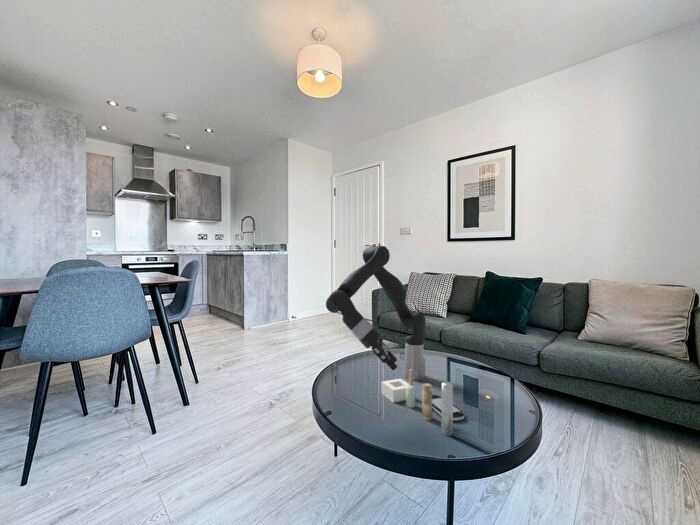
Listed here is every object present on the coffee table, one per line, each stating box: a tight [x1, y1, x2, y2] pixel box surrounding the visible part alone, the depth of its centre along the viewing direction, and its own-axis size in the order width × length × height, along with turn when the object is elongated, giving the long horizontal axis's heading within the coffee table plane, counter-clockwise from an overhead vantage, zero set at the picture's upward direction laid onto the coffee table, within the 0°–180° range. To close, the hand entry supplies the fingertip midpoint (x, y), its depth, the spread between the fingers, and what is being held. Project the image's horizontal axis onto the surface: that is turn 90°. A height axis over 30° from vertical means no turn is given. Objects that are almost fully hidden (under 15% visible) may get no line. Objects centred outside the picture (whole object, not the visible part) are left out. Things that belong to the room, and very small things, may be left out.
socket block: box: [380, 369, 414, 403], centre depth 126 cm, size 10×10×12 cm
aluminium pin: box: [440, 380, 454, 437], centre depth 98 cm, size 4×4×16 cm
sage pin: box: [405, 385, 416, 409], centre depth 117 cm, size 4×4×8 cm
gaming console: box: [432, 394, 466, 423], centre depth 114 cm, size 19×9×3 cm, turn 16°
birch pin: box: [421, 383, 433, 421], centre depth 108 cm, size 4×4×12 cm
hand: (395, 364), depth 110 cm, fingers open, 8 cm apart
